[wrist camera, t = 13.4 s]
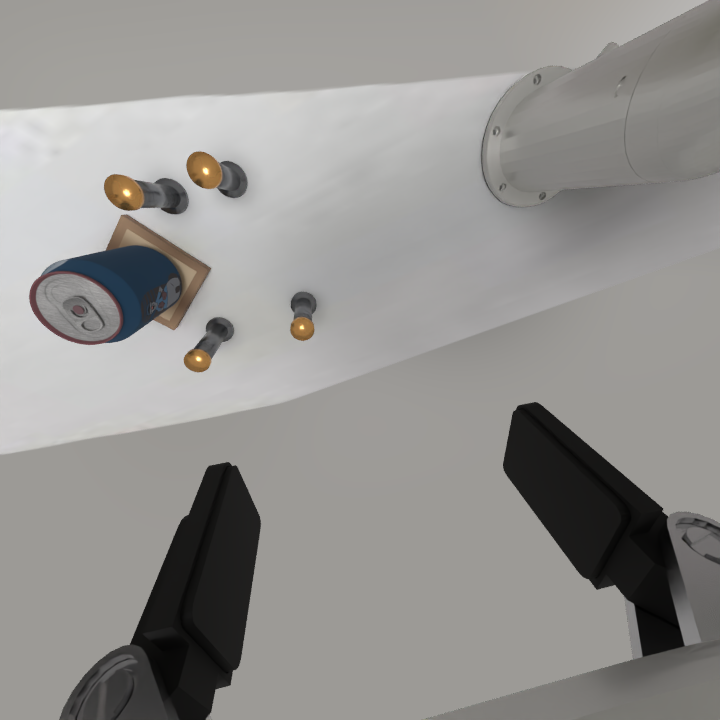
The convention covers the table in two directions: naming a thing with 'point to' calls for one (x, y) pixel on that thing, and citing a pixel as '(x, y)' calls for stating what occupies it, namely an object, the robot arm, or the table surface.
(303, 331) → the post
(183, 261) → the walnut coaster
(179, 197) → the post
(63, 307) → the soda can
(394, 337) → the table surface
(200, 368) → the post
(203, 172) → the post
